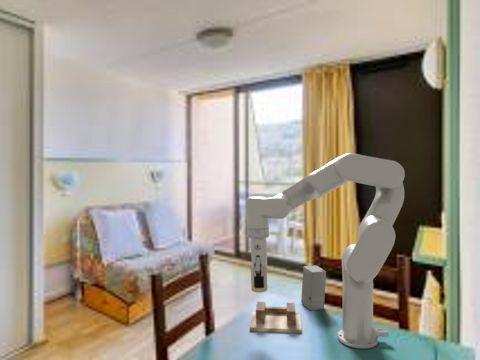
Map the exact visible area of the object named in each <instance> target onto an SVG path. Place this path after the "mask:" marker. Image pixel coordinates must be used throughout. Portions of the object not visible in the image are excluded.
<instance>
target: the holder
mask: <svg viewBox="0 0 480 360" xmlns="http://www.w3.org/2000/svg"><path fill="white" fill-rule="evenodd" d="M251 315H252V316H251V319H250V324H249V332H267V333H268V332H269V333H271V332H272V333H293V334H303V332H302V331H303V328H302V321H301V320H302V319H301V312H296V303H295V302H286V306H266V301H257V302H256V308H255V310H253V311H252V314H251Z"/></svg>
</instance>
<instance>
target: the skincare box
mask: <svg viewBox="0 0 480 360" xmlns="http://www.w3.org/2000/svg"><path fill="white" fill-rule="evenodd" d="M326 278H327V271H326V270H324V269H323V268H322V267H320V266H318V265H315V264H314V265H304V266H302V280H301V281H302V284H301V297H300V298H301V301H300V303H301V304H302V305H303V304H304V305H303V306H305V308H307V309H308V310H310V311H316V310H317V311H318V310H325V299H326V295H325V294H326V284H327V283H326V282H327V281H326V280H327V279H326Z"/></svg>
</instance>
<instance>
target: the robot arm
mask: <svg viewBox="0 0 480 360" xmlns="http://www.w3.org/2000/svg"><path fill="white" fill-rule="evenodd" d="M405 173H406V172H405V169H404V167H403V166H402V165H401V164H400V163H399V162H397V161H396V160H391V159H385V158H379V157H375V156H370V155H369V156H368V155H363V154H360V153H353V152H347V153H344V154H342V155H340V156H337V157H336V158H334V159H332V160H331V161H329V162H328V163H325V165H322V166H321V167H319V168H318V169H316V170H314V171H313V172H311V173H309V174H307V175H306V176H304V177H303V178H302V179H301V180H299V181H298V182H296V183H294V184H293V185H291V186H289V187H287V188H286V189H284V190H283V191H281V192H279V193H277V194H276V195H273V197H266V196H263V195H262V196H259V195H256V196H255V195H254V196H249V197H247V198H246V199H245V200H246V201H245V214H246V237H247V239H250V253H251V254H250V256H251V265H252V267H253V268H254V273H255V276H254V288H264V276H263V267H265V268H266V267H267V268H268V248H267V247H268V245H267V238H269V237H270V231H269V229H270V227H269V226H270V224H269V223H270V222H269V219H273V220H283V219H285V218H287V217H288V215H289V214H290V213H291V211H293V210H295V209H296V208H298V207H299V206H302V205H303V204H306V203H307V202H310V201H312V200H317V199H321V198H322V197H325V196H326V195H329V193H331V192H333V191H334V190H336V189H338V188H340V187H342V186H343V185H345V184H346V183H348V182H354V183H358V184H363V185H366V186H367V185H368V186H372V187H375V195H374V199H373V200H372V202H371V205H370V207H369V209H368V210H367V212H366V214H365V215H364V216H363V218H362V221H361V222H360V224H359V227H358V235H359V238H358V240H357V241H356V243H351V244H349V245H348V246H347V247H345V249H344V250H343V252H342V253H341V254H342V256H341V268H342V269H341V270H342V272H341V273H342V329H339V331H338V332H337V339H338V341H339V342H341V344H343V345H345V346H347V347H350V348H353V349H354V348H355V349H362V350H365V349H371V348H375V347H376V346H377V345H378V343H379V339H378V338H380V337H381V338H389V331H388V330H383V328H382V327H375V326H374V278H376V276H377V275H378V274H379V272H380V271H381V269H382V267H383V265H385V263H386V260H387V258H388V257H389V255H390V253H391V251H392V250H393V247H394V244H395V243H396V242H395V241H396V231H395V228H394V227H393V225H394V224H395V221H396V219H397V217H398V216H399V213H400V211H401V208H402V207H403V205H404V201H405V188H404V187H405V186H404V183H403V181H404V180H405V176H406V174H405ZM260 265H261V267H260ZM260 269H261V270H260Z"/></svg>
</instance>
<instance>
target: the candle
mask: <svg viewBox="0 0 480 360" xmlns="http://www.w3.org/2000/svg"><path fill="white" fill-rule="evenodd" d="M260 267H261V265H260ZM260 270H261V269H260ZM254 276H255V273H254V268H253V267H252V264H251V265H250V284H251V286H250V288H251V291H252V292H253V293H265V292H267V291H268V266H267V267H266V268H265V267H263V276H264V288H254Z"/></svg>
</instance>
